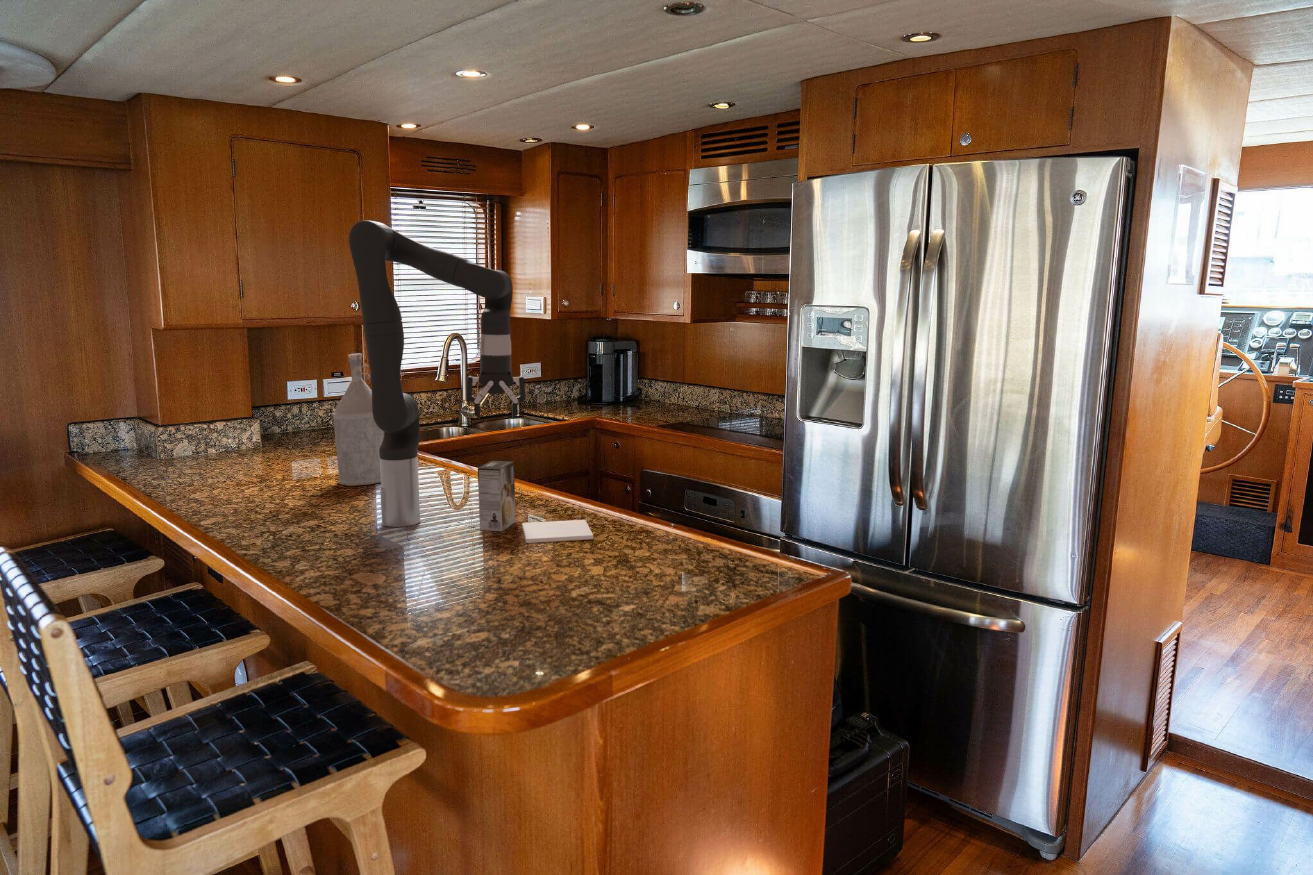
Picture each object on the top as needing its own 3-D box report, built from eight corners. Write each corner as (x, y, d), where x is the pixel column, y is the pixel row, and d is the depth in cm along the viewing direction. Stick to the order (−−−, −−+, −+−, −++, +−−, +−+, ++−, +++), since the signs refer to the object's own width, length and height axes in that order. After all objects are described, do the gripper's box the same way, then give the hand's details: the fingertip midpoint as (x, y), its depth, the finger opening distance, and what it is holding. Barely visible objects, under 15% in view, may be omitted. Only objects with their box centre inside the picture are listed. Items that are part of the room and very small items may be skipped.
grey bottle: (402, 479, 269) (395, 352, 261) (351, 489, 256) (343, 355, 248) (379, 473, 277) (373, 350, 270) (329, 482, 264) (321, 353, 257)
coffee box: (493, 520, 223) (491, 460, 220) (516, 522, 221) (515, 461, 219) (478, 530, 214) (476, 467, 211) (503, 531, 213) (501, 468, 210)
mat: (526, 543, 204) (526, 538, 203) (522, 526, 217) (522, 523, 217) (593, 539, 207) (593, 535, 207) (585, 523, 220) (585, 519, 220)
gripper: (465, 354, 205) (466, 420, 208) (526, 354, 208) (526, 420, 211) (466, 351, 212) (467, 416, 215) (524, 351, 215) (524, 415, 218)
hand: (496, 418), depth 213 cm, fingers open, 8 cm apart
